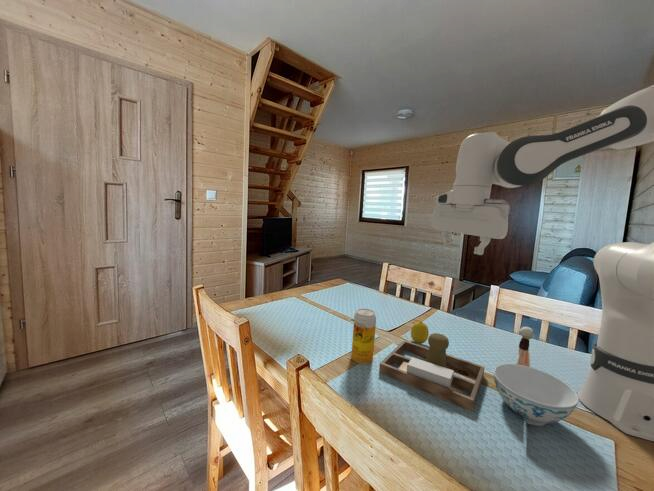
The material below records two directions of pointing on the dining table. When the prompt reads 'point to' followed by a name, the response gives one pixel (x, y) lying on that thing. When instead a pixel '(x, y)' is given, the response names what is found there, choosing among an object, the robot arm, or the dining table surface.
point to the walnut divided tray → (430, 386)
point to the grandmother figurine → (524, 346)
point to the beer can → (363, 336)
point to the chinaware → (534, 394)
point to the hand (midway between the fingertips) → (462, 250)
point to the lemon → (419, 332)
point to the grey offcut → (430, 372)
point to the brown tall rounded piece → (437, 349)
